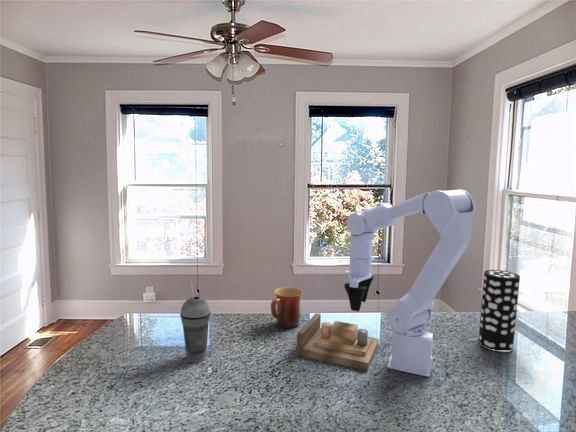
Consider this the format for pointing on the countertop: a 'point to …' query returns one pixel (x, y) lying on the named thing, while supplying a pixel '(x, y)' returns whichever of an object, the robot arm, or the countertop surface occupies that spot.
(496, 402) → the countertop surface
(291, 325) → the mug
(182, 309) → the beverage cup
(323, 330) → the wooden stand
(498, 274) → the spotted tube
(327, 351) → the light wood stepped block
